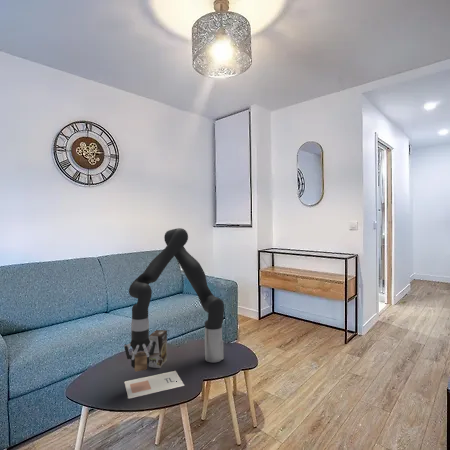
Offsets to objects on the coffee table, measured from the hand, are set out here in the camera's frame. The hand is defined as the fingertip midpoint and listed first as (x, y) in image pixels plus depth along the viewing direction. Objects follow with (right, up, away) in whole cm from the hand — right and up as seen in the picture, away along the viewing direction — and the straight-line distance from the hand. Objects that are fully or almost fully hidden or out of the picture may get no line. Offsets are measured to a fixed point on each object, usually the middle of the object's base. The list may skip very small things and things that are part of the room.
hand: (140, 365), depth 133 cm
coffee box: (+3, -10, +22) cm, 24 cm away
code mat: (+6, -9, +2) cm, 11 cm away
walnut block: (0, -1, 0) cm, 1 cm away
